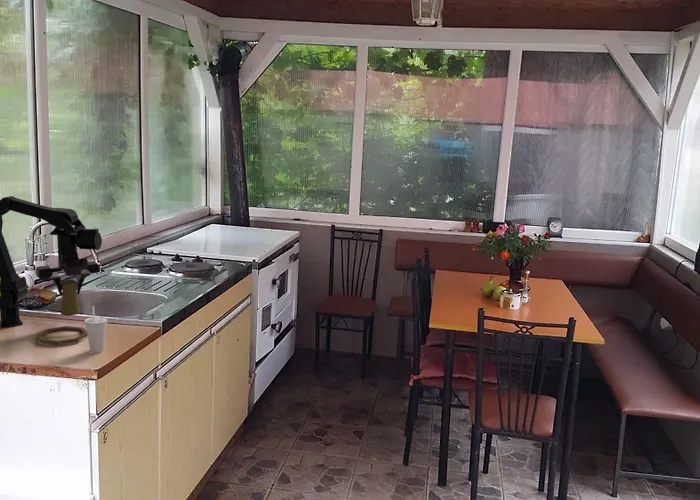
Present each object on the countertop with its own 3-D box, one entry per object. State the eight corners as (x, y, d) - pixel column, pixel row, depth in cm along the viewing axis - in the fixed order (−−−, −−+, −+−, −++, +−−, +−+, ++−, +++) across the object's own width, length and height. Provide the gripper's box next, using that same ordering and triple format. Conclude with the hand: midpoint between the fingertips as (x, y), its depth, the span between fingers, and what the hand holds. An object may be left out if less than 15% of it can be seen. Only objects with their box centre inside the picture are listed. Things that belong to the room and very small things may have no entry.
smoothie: (85, 348, 194) (83, 303, 191) (108, 346, 196) (106, 302, 193) (85, 355, 188) (83, 309, 185) (108, 353, 190) (106, 308, 188)
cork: (84, 310, 214) (82, 278, 212) (74, 316, 209) (73, 283, 206) (66, 309, 215) (65, 277, 213) (56, 314, 209) (55, 282, 207)
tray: (33, 335, 203) (33, 330, 202) (80, 328, 211) (80, 323, 210) (43, 349, 192) (43, 344, 191) (92, 341, 200) (91, 336, 200)
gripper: (41, 256, 196) (44, 305, 199) (104, 250, 207) (106, 297, 210) (33, 249, 204) (36, 296, 208) (94, 244, 215) (96, 289, 219)
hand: (69, 295), depth 211 cm, fingers closed on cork, 5 cm apart
